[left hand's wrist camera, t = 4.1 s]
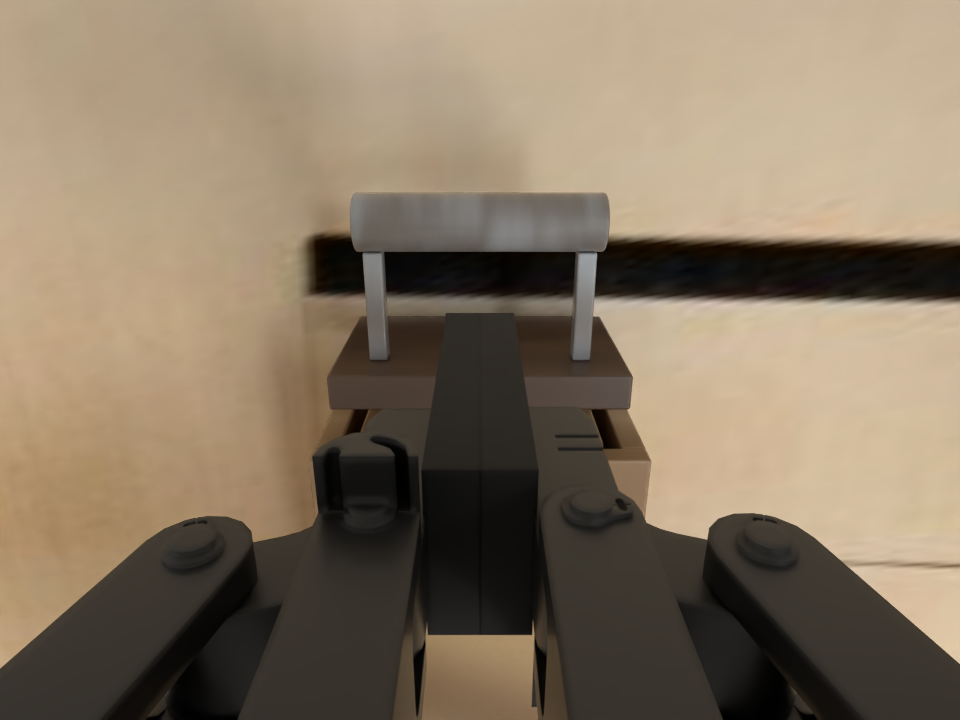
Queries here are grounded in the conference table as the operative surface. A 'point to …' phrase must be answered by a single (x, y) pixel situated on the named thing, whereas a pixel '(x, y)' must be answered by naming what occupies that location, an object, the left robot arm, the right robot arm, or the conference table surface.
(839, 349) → the conference table surface
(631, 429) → the cabinet
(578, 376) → the drawer
